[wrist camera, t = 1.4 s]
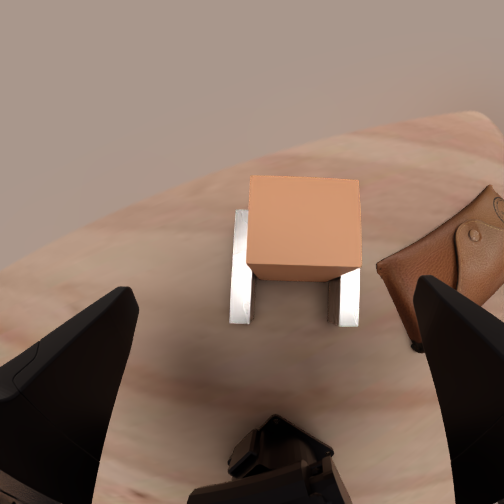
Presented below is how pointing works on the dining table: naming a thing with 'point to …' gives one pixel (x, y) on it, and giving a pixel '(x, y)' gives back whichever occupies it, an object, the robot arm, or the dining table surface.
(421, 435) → the dining table surface
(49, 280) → the dining table surface
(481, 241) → the sunglasses case
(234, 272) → the silver twin-wall channel
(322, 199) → the block
